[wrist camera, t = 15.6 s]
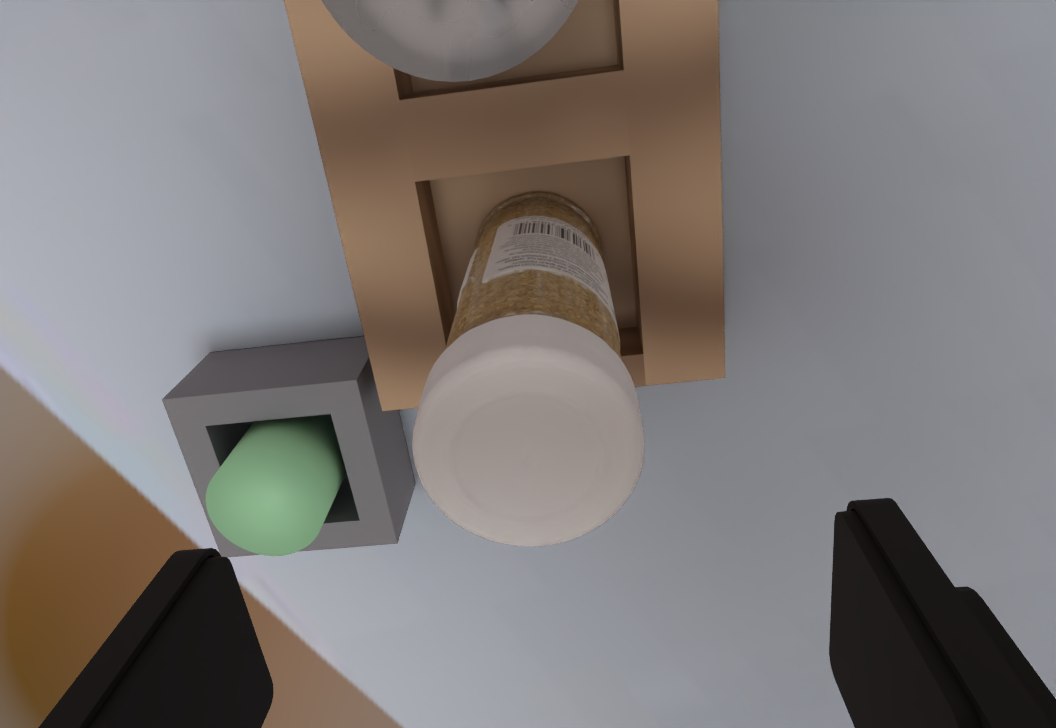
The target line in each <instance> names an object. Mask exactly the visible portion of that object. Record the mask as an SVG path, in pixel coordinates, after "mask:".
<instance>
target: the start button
mask: <svg viewBox="0 0 1056 728" xmlns="http://www.w3.org/2000/svg"><path fill="white" fill-rule="evenodd" d="M345 475H346V468H345V464H344V461H343V457H342V453H341V450H340V446H339V442H338V439H337V435H336V431H335V428H334V424H333V420H332V417H331V414H324V415H314V416H304V417H293V418H283V419H273V420H263V421H254V422H253V423H252V425H251V426H250V427H249V429H248V430H247V431H246V433H245V434H244V436H243V437H242V438H241V440H240V441H239V442H238V444H237V445H236V446H235V448H234V449H233V450H232V452H231V453H230V454H229V456H228V457H227V459H226V460H225V461H224V463H223V464H222V465H221V467H220V468H219V469H218V471H217V472H216V473H215V475H214V476H213V478H212V479H211V481H210V482H209V485H208V487H207V491H206V508H207V511H208V514H209V517H210V519H211V521H212V522H213V524H214V526H215V527H216V528H217V529H218V531H219V532H220V533H221V534H222V535H223V536H224V537H225V538H227V539H228V540H229V541H230V542H232V543H234V544H235V545H237V546H239V547H241V548H242V549H245V550H247V551H250V552H253V553H256V554H261V555H268V556H281V555H288V554H292V553H295V552H297V551H300V550H302V549H304V548H305V547H307V546H308V545H309V544H311V543H312V542H313V541H314V539H315V538H316V537H317V535H318V534H319V532H320V529H321V527H322V525H323V523H324V521H325V518H326V516H327V514H328V512H329V510H330V508H331V505H332V503H333V501H334V499H335V497H336V494H337V492H338V490H339V488H340V486H341V483H342V481H343V479H344V477H345Z"/></svg>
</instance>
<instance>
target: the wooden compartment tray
mask: <svg viewBox="0 0 1056 728" xmlns="http://www.w3.org/2000/svg"><path fill="white" fill-rule="evenodd" d="M284 3H285V7H286V11H287V15H288V19H289V24H290V28H291V32H292V36H293V40H294V45H295V49H296V53H297V57H298V61H299V65H300V70H301V74H302V78H303V82H304V86H305V91H306V95H307V99H308V103H309V107H310V111H311V116H312V120H313V124H314V128H315V132H316V137H317V141H318V145H319V149H320V153H321V157H322V162H323V166H324V170H325V174H326V178H327V182H328V187H329V191H330V195H331V199H332V203H333V208H334V212H335V216H336V220H337V224H338V228H339V233H340V237H341V241H342V245H343V249H344V254H345V258H346V262H347V266H348V270H349V274H350V279H351V283H352V287H353V291H354V295H355V299H356V304H357V308H358V312H359V316H360V320H361V325H362V329H363V333H364V337H365V341H366V345H367V350H368V354H369V358H370V362H371V366H372V371H373V375H374V379H375V383H376V387H377V391H378V396H379V400H380V404H381V408H382V411H390V410H400V409H410V408H418V407H419V403H420V399H421V396H422V393H423V389H424V386H425V383H426V380H427V378H428V376H429V373H430V371H431V369H432V367H433V365H434V364H435V362H436V361H437V360H438V358H439V357H440V355H441V354H442V353H443V352H444V351H445V349H446V346H447V342H448V338H449V334H450V331H451V328H452V324H453V321H454V318H455V314H456V312H457V302H458V298H459V293H460V290H461V287H462V283H463V280H464V277H465V274H466V271H467V268H468V265H469V262H470V259H471V257H472V255H473V249H474V245H475V241H476V238H477V233H478V230H479V228H480V226H481V225H482V223H483V222H484V220H485V218H486V217H487V215H488V214H489V213H490V212H491V211H492V210H493V209H494V208H495V207H497V206H498V205H500V204H501V203H503V202H505V201H506V200H508V199H509V198H511V197H516V196H518V195H521V194H526V193H529V192H542V193H552V194H556V195H559V196H561V197H562V198H565V199H568V200H570V201H572V202H573V203H574V204H575V205H577V206H579V207H580V208H582V209H583V210H584V211H585V212H586V214H587V215H588V216H589V217H590V218H591V220H592V221H593V223H594V224H595V226H596V228H597V231H598V233H599V236H600V239H601V247H602V251H603V263H604V266H605V270H606V274H607V279H608V283H609V288H610V293H611V297H612V302H613V307H614V312H615V317H616V322H617V327H618V332H619V338H620V354H621V359H622V362H623V363H624V365H625V367H626V368H627V370H628V372H629V374H630V376H631V378H632V381H633V383H634V386H635V387H637V386H647V385H658V384H668V383H678V382H688V381H699V380H709V379H719V378H725V332H724V279H723V226H722V173H721V120H720V67H719V14H718V0H578V2H577V4H576V6H575V8H574V9H573V11H572V12H571V14H570V15H569V17H568V19H567V20H566V22H565V23H564V24H563V25H562V27H561V28H560V29H559V30H558V31H557V33H556V34H555V35H554V36H553V37H552V38H551V39H550V40H549V41H548V42H547V43H546V44H545V45H544V46H543V47H542V48H541V49H540V50H539V51H537V52H536V53H535V54H533V55H532V56H530V57H529V58H527V59H526V60H525V61H523V62H522V63H520V64H518V65H516V66H514V67H512V68H510V69H508V70H506V71H504V72H501V73H498V74H495V75H493V76H490V77H486V78H481V79H476V80H472V81H458V82H447V81H434V80H429V79H425V78H420V77H415V76H413V75H410V74H407V73H404V72H402V71H399V70H397V69H395V68H393V67H391V66H389V65H387V64H385V63H383V62H381V61H380V60H378V59H377V58H375V57H374V56H372V55H371V54H370V53H368V52H367V51H365V50H364V49H363V48H362V47H360V46H359V45H358V44H357V43H356V42H355V41H354V40H353V39H352V38H350V37H349V36H348V35H347V33H346V32H345V31H344V30H343V29H342V28H341V27H340V26H339V24H338V23H337V22H336V21H335V20H334V18H333V17H332V15H331V14H330V12H329V11H328V10H327V8H326V7H325V5H324V4H323V2H322V0H284Z"/></svg>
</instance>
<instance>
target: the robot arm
mask: <svg viewBox="0 0 1056 728" xmlns="http://www.w3.org/2000/svg"><path fill="white" fill-rule="evenodd" d="M829 655H830V662H831V668H832V671H833V675H834V678H835V680H836V683H837V685H838V688H839V690H840V693H841V695H842V697H843V700H844V702H845V705H846V707H847V710H848V712H849V714H850V717H851V719H852V722H853V724H854V727H855V728H1056V699H1055V698H1054V696H1053V695H1052V693H1051V692H1050V691H1049V689H1048V688H1047V687H1046V685H1045V684H1044V683H1043V681H1042V680H1041V678H1040V677H1039V676H1038V674H1037V673H1036V672H1035V670H1034V669H1033V667H1032V666H1031V665H1030V663H1029V662H1028V661H1027V659H1026V658H1025V657H1024V655H1023V654H1022V652H1021V651H1020V650H1019V648H1018V647H1017V646H1016V644H1015V643H1014V641H1013V640H1012V639H1011V637H1010V636H1009V635H1008V633H1007V632H1006V631H1005V629H1004V628H1003V626H1002V625H1001V624H1000V622H999V621H998V620H997V618H996V617H995V615H994V614H993V613H992V611H991V610H990V609H989V607H988V606H987V605H986V603H985V602H984V600H983V599H982V598H981V597H980V596H979V595H978V593H977V592H976V591H975V590H973V589H971V588H969V587H954V586H953V584H952V583H951V581H950V580H949V578H948V577H947V575H946V574H945V573H944V571H943V570H942V568H941V567H940V565H939V564H938V563H937V561H936V560H935V558H934V557H933V555H932V554H931V552H930V551H929V550H928V548H927V547H926V545H925V544H924V542H923V541H922V540H921V538H920V537H919V535H918V534H917V532H916V531H915V530H914V528H913V527H912V525H911V524H910V522H909V521H908V519H907V518H906V517H905V515H904V514H903V512H902V511H901V509H900V508H899V507H898V505H897V504H896V502H895V501H894V500H893V499H890V498H884V499H870V500H857V501H850V502H849V504H848V506H847V511H844V512H837V513H836V515H835V523H834V548H833V572H832V596H831V621H830V645H829ZM272 698H273V683H272V679H271V676H270V673H269V670H268V668H267V664H266V662H265V659H264V656H263V653H262V650H261V647H260V644H259V642H258V639H257V636H256V633H255V630H254V627H253V624H252V621H251V618H250V616H249V613H248V610H247V607H246V604H245V601H244V598H243V595H242V593H241V590H240V587H239V584H238V581H237V578H236V575H235V572H234V569H233V567H232V564H231V562H230V560H229V559H228V558H227V557H221V555H220V553H219V552H218V551H217V550H216V549H213V548H207V549H194V550H181V551H177V552H175V553H174V554H173V555H172V556H171V557H170V558H169V559H168V560H167V562H166V563H165V565H164V566H163V567H162V568H161V570H160V571H159V572H158V573H157V575H156V576H155V577H154V579H153V580H152V581H151V582H150V584H149V585H148V586H147V588H146V589H145V590H144V592H143V593H142V594H141V595H140V597H139V598H138V599H137V601H136V602H135V603H134V605H133V606H132V607H131V609H130V610H129V611H128V612H127V614H126V615H125V616H124V618H123V619H122V620H121V621H120V623H119V624H118V625H117V627H116V628H115V629H114V631H113V632H112V633H111V634H110V636H109V637H108V638H107V640H106V641H105V642H104V643H103V645H102V646H101V647H100V649H99V650H98V651H97V653H96V654H95V655H94V656H93V658H92V659H91V660H90V662H89V663H88V664H87V666H86V667H85V668H84V670H83V671H82V672H81V673H80V675H79V676H78V677H77V678H76V680H75V681H74V682H73V684H72V685H71V686H70V688H69V689H68V690H67V691H66V693H65V694H64V695H63V697H62V698H61V699H60V700H59V702H58V703H57V704H56V706H55V707H54V708H53V710H52V711H51V712H50V713H49V715H48V716H47V717H46V719H45V720H44V721H43V723H42V724H41V725H40V726H39V728H261V727H262V724H263V722H264V720H265V718H266V715H267V713H268V711H269V709H270V706H271V703H272Z"/></svg>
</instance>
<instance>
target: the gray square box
mask: <svg viewBox="0 0 1056 728" xmlns="http://www.w3.org/2000/svg"><path fill="white" fill-rule="evenodd" d="M162 401H163V403H164V406H165V409H166V411H167V414H168V417H169V419H170V422H171V425H172V427H173V430H174V432H175V435H176V438H177V440H178V443H179V446H180V448H181V451H182V454H183V456H184V459H185V462H186V464H187V467H188V470H189V472H190V475H191V477H192V480H193V483H194V485H195V488H196V491H197V493H198V496H199V499H200V501H201V504H202V507H203V509H204V512H205V515H206V517H207V520H208V523H209V525H210V528H211V530H212V533H213V536H214V538H215V541H216V544H217V546H218V549H219V552H220V554H221V557H237V556H249V555H261V554H256V553H253V552H250V551H247V550H245V549H242V548H241V547H239V546H237V545H235V544H234V543H232V542H230V541H229V540H228V539H227V538H225V537H224V536H223V535H222V534H221V533H220V532H219V531H218V529H217V528H216V527H215V526H214V524H213V522H212V521H211V519H210V517H209V514H208V511H207V508H206V491H207V487H208V485H209V482H210V481H211V479H212V478H213V476H214V475H215V473H216V472H217V471H218V469H219V468H220V467H221V465H222V464H223V463H224V461H225V460H226V459H227V457H228V456H229V454H230V453H231V452H232V450H233V449H234V448H235V446H236V445H237V444H238V442H239V441H240V440H241V438H242V437H243V436H244V434H245V433H246V431H247V430H248V429H249V427H250V426H251V425H252V423H253V422H254V421H263V420H273V419H283V418H293V417H304V416H314V415H324V414H331V417H332V420H333V424H334V428H335V431H336V435H337V439H338V442H339V446H340V450H341V453H342V457H343V461H344V464H345V468H346V475H345V477H344V479H343V481H342V483H341V486H340V488H339V490H338V492H337V494H336V497H335V499H334V501H333V503H332V505H331V508H330V510H329V512H328V514H327V516H326V518H325V521H324V523H323V525H322V527H321V529H320V532H319V534H318V535H317V537H316V538H315V539H314V541H313V542H312V543H311V544H309V545H308V546H307V547H305V548H304V549H302V550H300V551H311V550H323V549H335V548H347V547H360V546H372V545H384V544H397V543H398V540H399V536H400V533H401V530H402V526H403V523H404V520H405V516H406V513H407V510H408V506H409V503H410V500H411V496H412V493H413V490H414V486H415V480H414V475H413V471H412V467H411V462H410V458H409V453H408V449H407V445H406V440H405V436H404V432H403V427H402V423H401V419H400V414H399V410H390V411H382V408H381V404H380V400H379V396H378V391H377V387H376V383H375V379H374V375H373V371H372V366H371V362H370V358H369V354H368V350H367V345H366V341H365V337H364V336H360V337H351V338H342V339H332V340H323V341H313V342H304V343H295V344H285V345H276V346H266V347H257V348H247V349H238V350H229V351H219V352H210V353H209V354H208V355H207V356H206V357H205V358H204V359H203V360H202V361H201V362H200V363H199V364H198V365H197V366H196V367H195V368H194V369H193V370H192V371H191V372H190V373H189V374H188V375H187V376H186V377H185V378H184V379H183V380H182V381H181V382H179V383H178V384H177V385H176V386H175V387H174V388H173V389H172V390H171V391H170V392H169V393H168V394H167V395H166V396H165V397H164V398H163V399H162ZM297 552H298V551H297Z"/></svg>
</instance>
